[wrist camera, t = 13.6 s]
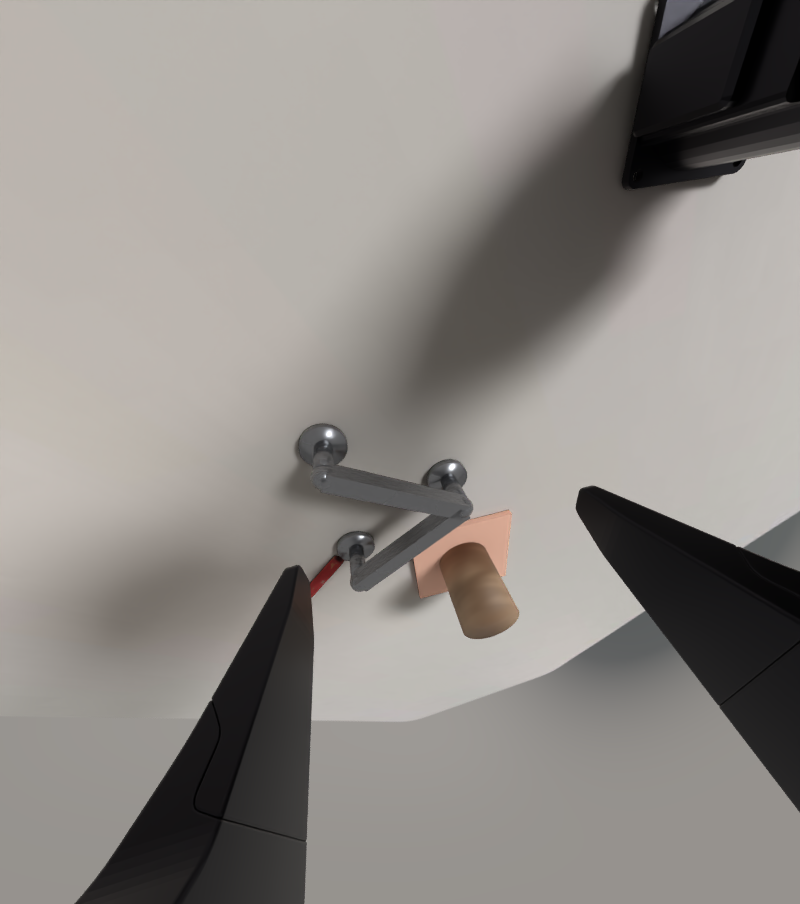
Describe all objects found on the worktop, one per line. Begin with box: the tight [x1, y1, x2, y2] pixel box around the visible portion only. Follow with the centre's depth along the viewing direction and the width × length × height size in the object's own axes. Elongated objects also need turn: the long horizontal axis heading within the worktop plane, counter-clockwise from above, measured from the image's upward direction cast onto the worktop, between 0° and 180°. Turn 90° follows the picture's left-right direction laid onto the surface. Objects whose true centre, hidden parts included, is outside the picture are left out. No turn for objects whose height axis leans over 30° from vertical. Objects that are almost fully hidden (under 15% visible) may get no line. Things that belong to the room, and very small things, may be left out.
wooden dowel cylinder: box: [439, 542, 519, 639], centre depth 27 cm, size 5×5×6 cm
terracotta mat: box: [413, 510, 512, 599], centre depth 30 cm, size 9×9×1 cm
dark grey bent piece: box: [299, 424, 473, 592], centre depth 22 cm, size 11×13×4 cm
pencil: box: [310, 556, 344, 598], centre depth 30 cm, size 19×1×1 cm, turn 142°
